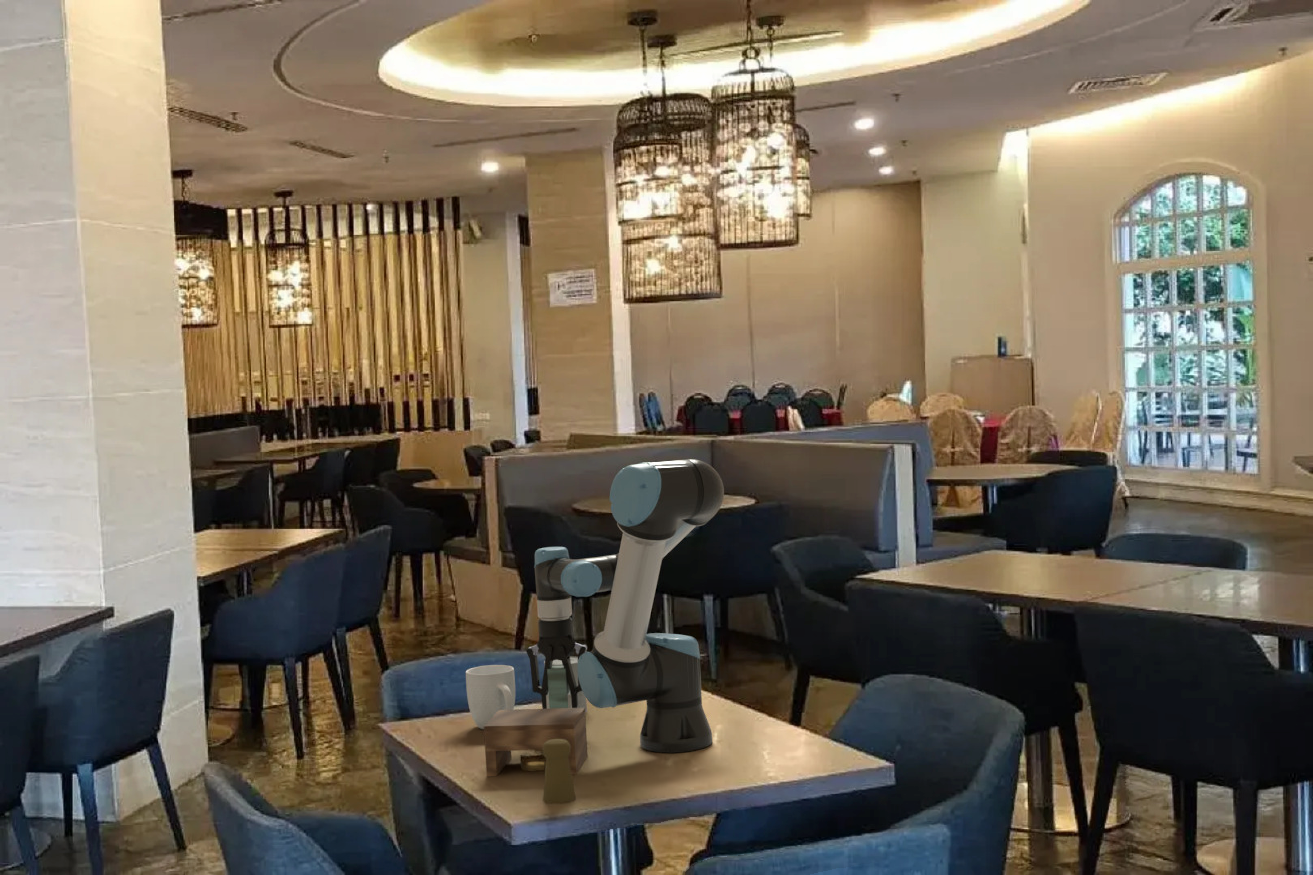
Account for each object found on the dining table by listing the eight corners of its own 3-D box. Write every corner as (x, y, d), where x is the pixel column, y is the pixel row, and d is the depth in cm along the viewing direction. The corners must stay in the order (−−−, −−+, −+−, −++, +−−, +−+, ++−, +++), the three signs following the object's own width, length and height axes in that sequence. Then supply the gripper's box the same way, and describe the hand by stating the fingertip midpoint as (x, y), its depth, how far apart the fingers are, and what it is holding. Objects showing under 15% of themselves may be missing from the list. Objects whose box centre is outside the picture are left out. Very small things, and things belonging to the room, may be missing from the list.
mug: (534, 729, 324) (530, 671, 323) (490, 738, 318) (486, 679, 317) (503, 718, 336) (500, 662, 336) (460, 726, 330) (457, 669, 330)
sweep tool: (554, 728, 321) (550, 665, 321) (572, 728, 320) (568, 665, 320) (532, 756, 297) (528, 688, 297) (551, 756, 297) (547, 688, 296)
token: (561, 763, 294) (561, 751, 294) (544, 772, 288) (543, 760, 288) (532, 761, 297) (531, 749, 297) (514, 770, 291) (513, 758, 291)
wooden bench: (587, 755, 298) (584, 707, 298) (576, 774, 285) (573, 724, 284) (502, 757, 301) (499, 709, 300) (486, 776, 287) (483, 726, 286)
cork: (563, 805, 264) (559, 745, 264) (536, 801, 267) (533, 742, 267) (582, 796, 269) (578, 737, 269) (555, 792, 273) (552, 734, 272)
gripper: (596, 613, 321) (602, 718, 321) (520, 616, 323) (526, 720, 323) (590, 619, 313) (596, 726, 314) (513, 621, 315) (519, 728, 316)
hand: (561, 723), depth 319 cm, fingers closed on sweep tool, 4 cm apart
